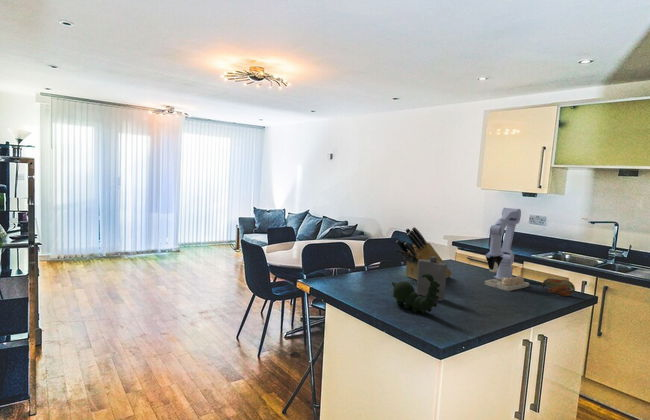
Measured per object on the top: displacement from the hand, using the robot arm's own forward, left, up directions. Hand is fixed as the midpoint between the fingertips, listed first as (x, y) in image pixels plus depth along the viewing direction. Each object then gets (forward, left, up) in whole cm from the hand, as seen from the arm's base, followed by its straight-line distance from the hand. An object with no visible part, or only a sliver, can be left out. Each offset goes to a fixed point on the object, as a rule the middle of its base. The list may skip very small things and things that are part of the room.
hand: (493, 268), depth 226 cm
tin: (-13, +30, -9) cm, 34 cm away
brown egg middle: (-1, +11, -8) cm, 14 cm away
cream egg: (0, 0, -1) cm, 1 cm away
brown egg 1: (+6, +11, -8) cm, 15 cm away
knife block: (+31, -26, -9) cm, 41 cm away
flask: (+57, +2, -9) cm, 58 cm away
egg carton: (-1, +8, -8) cm, 12 cm away
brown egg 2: (-8, +11, -8) cm, 16 cm away
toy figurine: (+80, +11, -9) cm, 81 cm away
